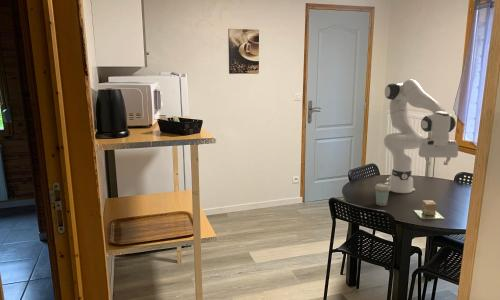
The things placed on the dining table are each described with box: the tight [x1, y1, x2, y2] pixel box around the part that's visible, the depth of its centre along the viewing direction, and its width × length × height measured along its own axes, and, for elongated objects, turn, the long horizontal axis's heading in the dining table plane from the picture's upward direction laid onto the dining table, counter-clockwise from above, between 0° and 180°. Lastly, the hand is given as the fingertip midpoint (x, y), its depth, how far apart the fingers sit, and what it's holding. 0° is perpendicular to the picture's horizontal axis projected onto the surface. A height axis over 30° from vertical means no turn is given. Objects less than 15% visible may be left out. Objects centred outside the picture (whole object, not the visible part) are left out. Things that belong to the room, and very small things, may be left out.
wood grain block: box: [421, 199, 437, 215], centre depth 207 cm, size 5×5×7 cm
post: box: [413, 209, 445, 220], centre depth 208 cm, size 12×12×7 cm
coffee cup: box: [374, 182, 390, 207], centre depth 225 cm, size 8×8×12 cm
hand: (436, 164), depth 211 cm, fingers open, 8 cm apart
